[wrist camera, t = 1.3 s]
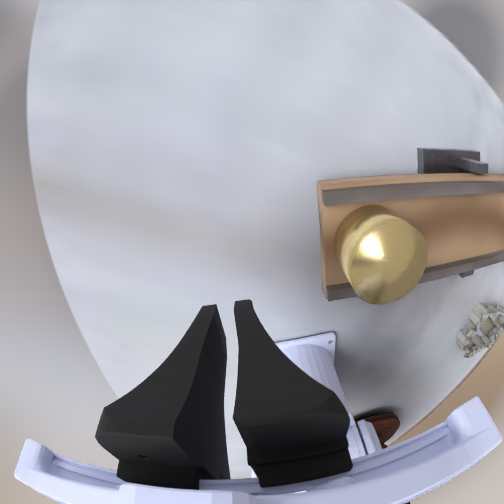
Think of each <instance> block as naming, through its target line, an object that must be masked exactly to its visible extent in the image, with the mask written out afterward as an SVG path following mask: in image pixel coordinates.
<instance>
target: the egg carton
mask: <svg viewBox="0 0 504 504" xmlns="http://www.w3.org/2000/svg"><path fill="white" fill-rule="evenodd" d="M468 317H469V321H468V323H467V325H466V326H465V327H464V328H463V329H461V330H459V332H458V333H457V335H456V336H457V343H458V344H459V346H460V348H461V349H462V350H465V354H464V357H466V358H467V357H468V358H469V357H472V356H473V354H475V353H477V352H480V351H481V350H483V349H484V348H485V347H487V348H490V347H492V342H493V341H494V340H498V338H499V336H500V335H502V333H503V331H504V309H503V308H502V307H501V306H500V305H498V306H497V307H496V308H495V307H493V305H491V304H489V305H488V307H487V308H486V307H485V306H484V305H483V304H481V303H480V304H479V305H478V306H477V307H476V308H475V309H474V310H472V311H471V312H470V314H469V315H468ZM491 319H492V320H491ZM479 322H482V323H481V325H480V327H479V328H480V330H481V331H482V332H483V333H484V335H483V336H482V337H481V338H480V337H479V336H478V335H475V336H474V337H473V338H472V339H471V338H470V337H471V336H472V335H473V334H474V333H475V332H476V331H477V325H478V323H479Z"/></svg>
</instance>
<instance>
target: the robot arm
mask: <svg viewBox="0 0 504 504" xmlns="http://www.w3.org/2000/svg"><path fill="white" fill-rule="evenodd" d="M234 315H235V322H236V329H237V336H238V345H239V354H238V378H237V390H236V399H235V407H234V414H233V420H234V422H235V424H236V426H237V428H238V430H239V432H240V435H241V437H242V439H243V441H244V443H245V445H246V447H247V460H248V465H249V466H251V467H252V470H251V476H252V478H246V479H230V472H229V464H228V456H227V446H226V434H225V419H224V391H225V377H226V364H227V348H226V337H225V333H224V330H223V326H222V323H221V319H220V316H219V312H218V309H217V305H216V304H215V305H207V306H203V307H202V308H201V309H200V311H199V313H198V314H197V316H196V318H195V319H194V321H193V323H192V324H191V326H190V327H189V329H188V330H187V332H186V334H185V335H184V337H183V338H182V339H181V341H180V342H179V344H178V345H177V346H176V348H175V349H174V350H173V352H172V353H171V354H170V355H169V356H168V358H167V359H166V360H165V361H164V362H163V363H162V364H161V365H160V366H159V367H158V368H157V369H156V370H155V371H154V372H153V373H152V374H151V375H150V376H149V377H148V378H147V379H145V380H144V381H143V382H142V383H141V384H139V385H138V386H137V387H136V388H134V389H133V390H132V391H130V392H129V393H127V394H126V395H124V396H123V397H121V398H120V399H118V400H116V401H115V402H113V403H111V404H110V405H108V406H106V407H104V409H103V412H102V415H101V418H100V421H99V424H98V428H97V431H96V436H95V438H96V440H97V441H98V443H99V444H100V445H101V446H102V447H103V448H104V449H106V450H107V451H108V452H109V453H111V454H112V455H113V456H115V457H116V458H117V459H119V464H118V469H117V471H116V470H112V469H107V468H103V467H98V466H94V465H90V464H87V463H83V462H79V461H76V460H73V459H70V458H67V457H64V456H61V455H58V454H55V453H54V452H53V451H52V450H50V449H49V448H48V447H46V446H45V445H43V444H41V443H39V442H36V441H34V440H31V439H29V438H27V439H26V441H25V444H24V447H23V449H22V452H21V455H20V458H19V461H18V464H17V467H16V470H15V473H14V477H15V478H16V479H18V480H20V481H21V482H23V483H24V484H26V485H27V486H29V487H31V488H33V489H34V490H36V491H38V492H40V493H41V494H43V495H45V496H47V497H49V498H51V499H53V500H55V501H57V502H59V503H61V504H405V503H408V502H410V501H412V500H414V499H416V498H418V497H420V496H422V495H424V494H426V493H428V492H430V491H431V490H433V489H435V488H437V487H439V486H441V485H442V484H444V483H446V482H448V481H449V480H451V479H453V478H454V477H456V476H457V475H459V474H460V473H462V472H464V471H465V470H466V469H468V468H469V467H471V466H472V465H474V464H475V463H476V462H478V461H479V460H480V459H481V458H483V457H484V456H485V455H486V454H488V453H489V452H490V451H491V450H492V449H494V448H495V447H496V446H497V445H498V444H499V443H500V442H502V440H503V438H502V436H501V434H500V433H499V431H498V429H497V427H496V425H495V424H494V422H493V420H492V418H491V417H490V415H489V413H488V412H487V410H486V408H485V407H484V405H483V403H482V402H481V400H480V399H479V397H478V396H476V397H474V398H472V399H471V400H469V401H468V402H466V403H465V404H463V405H461V406H459V407H458V408H456V409H455V410H454V411H453V412H452V413H451V414H450V415H449V416H448V418H447V419H446V421H444V422H442V423H441V424H439V425H437V426H435V427H433V428H431V429H429V430H427V431H425V432H423V433H420V434H418V435H416V436H414V437H412V438H410V439H407V440H405V441H402V442H400V443H398V444H395V445H393V446H390V447H387V448H385V449H382V447H381V445H380V442H379V439H378V436H377V434H376V432H375V429H374V427H373V425H372V423H370V422H367V421H365V420H360V421H357V423H358V427H359V430H360V435H361V438H362V441H363V444H362V441H361V438H360V435H359V432H358V429H357V426H356V423H355V420H354V417H353V415H352V413H351V412H350V410H349V407H348V404H347V401H346V398H345V395H344V393H343V390H342V387H341V384H340V382H339V379H338V376H337V373H336V371H335V368H334V356H335V342H336V336H335V333H333V332H330V333H325V334H320V335H316V336H311V337H306V338H301V339H295V340H290V341H284V342H279V343H274V341H273V340H272V339H271V337H270V336H269V335H268V333H267V332H266V330H265V329H264V327H263V326H262V324H261V322H260V321H259V319H258V317H257V315H256V313H255V311H254V308H253V305H252V301H251V300H249V299H248V300H242V301H235V305H234ZM330 340H331V341H330Z"/></svg>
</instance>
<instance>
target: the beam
mask: <svg viewBox="0 0 504 504" xmlns="http://www.w3.org/2000/svg"><path fill="white" fill-rule="evenodd" d="M317 192H318V205H319V220H320V237H321V259H322V290H323V293H324V295H325V298H326V299H328V301H333V300H339V299H344V298H350V297H356V296H358V295H357V294H356V293H355V291H354V289H353V287H352V285H351V284H350V282H349V280H348V278H347V277H346V275H345V273H344V271H343V270H342V268H341V266H340V264H339V263H338V261H337V259H336V257H335V254H334V247H333V245H334V237H335V233H336V231H337V228H338V226H339V225H340V223H341V222H342V220H343V219H344V218H345V217H346V216H347V215H348V214H349V213H350V212H352V211H353V210H355V209H357V208H359V207H361V206H364V205H369V204H376V205H381V206H384V207H386V208H388V209H389V210H391V211H392V212H394V213H395V214H397V215H398V216H399V217H401V218H402V219H404V220H405V221H406V222H408V223H409V224H410V225H412V226H413V227H414V228H416V229H417V230H418V231H419V232H420V233H421V234H422V235H423V237H424V239H425V241H426V244H427V249H428V258H427V264H426V268H425V270H424V273H423V275H422V277H421V278H420V280H419V282H418V283H417V284H419V283H423V282H428V281H432V280H436V279H440V278H444V277H448V276H452V275H456V274H460V273H463V272H467V271H471V270H474V269H478V268H482V267H485V266H489V265H492V264H495V263H499V262H502V261H504V174H475V173H439V174H406V175H386V176H370V177H357V178H344V179H333V180H323V181H317Z"/></svg>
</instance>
